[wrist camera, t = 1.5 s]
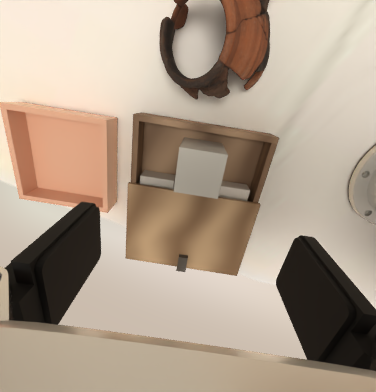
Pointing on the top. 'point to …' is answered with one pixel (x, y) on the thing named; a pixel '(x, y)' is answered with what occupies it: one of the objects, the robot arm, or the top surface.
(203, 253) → the sliding lid wooden box
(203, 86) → the broken pottery ring
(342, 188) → the top surface
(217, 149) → the stone block
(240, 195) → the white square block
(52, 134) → the terracotta tray
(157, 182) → the flat grey square block
